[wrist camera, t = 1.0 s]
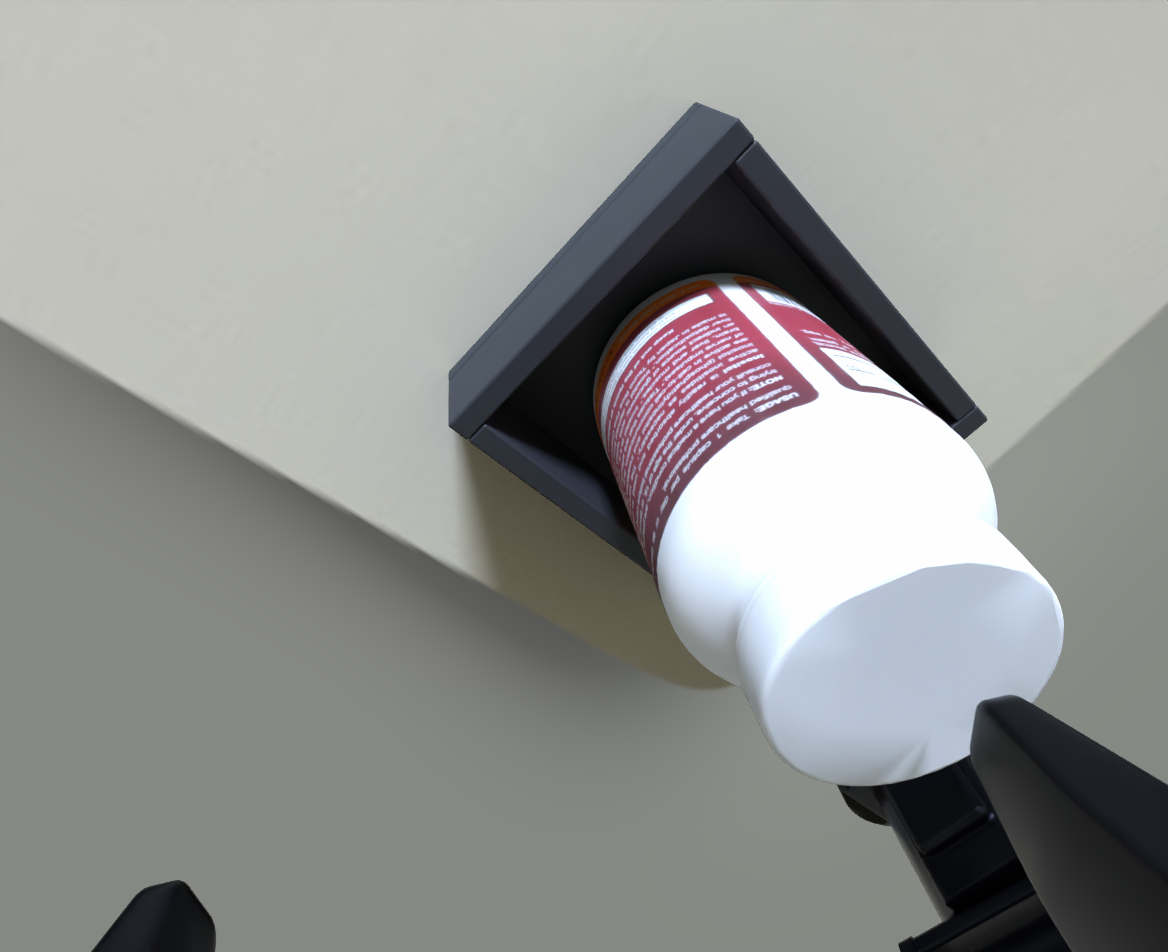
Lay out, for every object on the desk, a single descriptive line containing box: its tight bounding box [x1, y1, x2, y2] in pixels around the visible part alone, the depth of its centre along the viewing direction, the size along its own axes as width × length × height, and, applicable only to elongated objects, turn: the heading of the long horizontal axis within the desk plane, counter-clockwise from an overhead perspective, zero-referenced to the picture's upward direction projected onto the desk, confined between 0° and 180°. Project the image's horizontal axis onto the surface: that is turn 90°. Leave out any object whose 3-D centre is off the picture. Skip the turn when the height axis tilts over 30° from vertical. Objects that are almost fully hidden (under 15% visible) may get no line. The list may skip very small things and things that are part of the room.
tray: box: [449, 102, 987, 575], centre depth 20 cm, size 10×9×3 cm
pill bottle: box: [593, 273, 1064, 786], centre depth 16 cm, size 6×6×11 cm
